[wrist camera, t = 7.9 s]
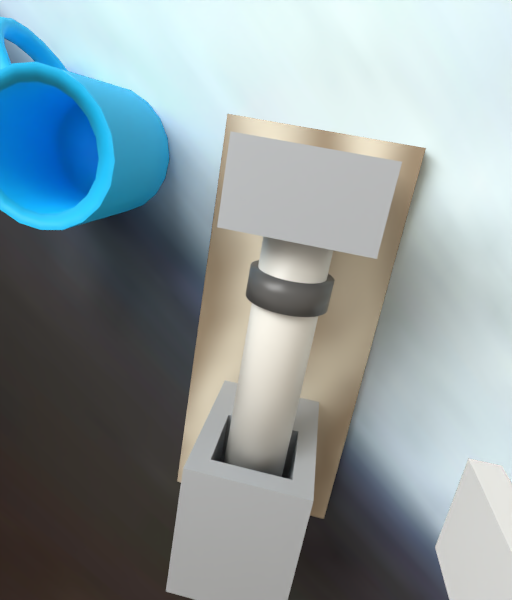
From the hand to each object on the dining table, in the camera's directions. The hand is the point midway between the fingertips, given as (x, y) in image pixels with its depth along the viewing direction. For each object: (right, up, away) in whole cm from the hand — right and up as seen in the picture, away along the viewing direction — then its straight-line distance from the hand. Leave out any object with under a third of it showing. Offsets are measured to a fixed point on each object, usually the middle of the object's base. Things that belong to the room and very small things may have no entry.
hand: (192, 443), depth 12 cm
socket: (+5, +11, +17) cm, 21 cm away
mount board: (+4, +1, +21) cm, 22 cm away
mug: (-9, +15, +19) cm, 26 cm away
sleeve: (+2, -7, +23) cm, 24 cm away
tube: (+3, +2, +15) cm, 16 cm away
